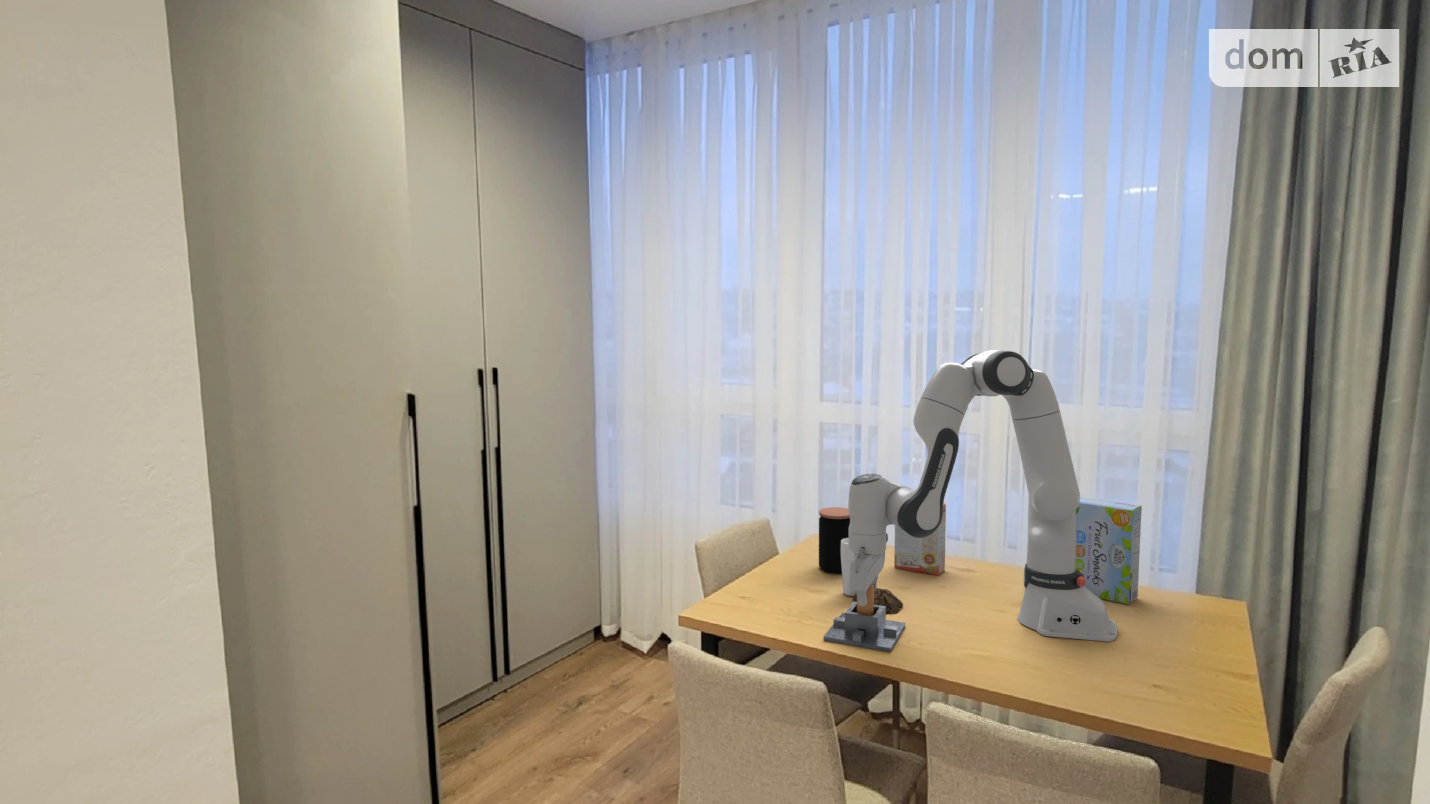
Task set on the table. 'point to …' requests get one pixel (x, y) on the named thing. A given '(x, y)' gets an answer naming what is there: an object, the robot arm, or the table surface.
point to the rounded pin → (870, 602)
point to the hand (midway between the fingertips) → (867, 597)
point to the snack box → (1109, 548)
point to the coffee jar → (832, 537)
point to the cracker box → (921, 550)
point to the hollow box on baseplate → (865, 629)
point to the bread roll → (885, 600)
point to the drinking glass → (846, 566)
